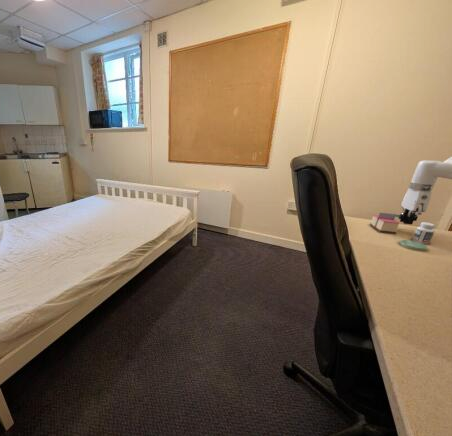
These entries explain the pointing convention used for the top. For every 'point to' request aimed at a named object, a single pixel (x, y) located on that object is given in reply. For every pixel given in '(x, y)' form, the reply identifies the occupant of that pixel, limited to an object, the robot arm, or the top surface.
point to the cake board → (381, 230)
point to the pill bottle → (424, 233)
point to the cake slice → (374, 220)
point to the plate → (413, 245)
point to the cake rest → (387, 225)
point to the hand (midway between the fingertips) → (405, 222)
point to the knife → (393, 216)
